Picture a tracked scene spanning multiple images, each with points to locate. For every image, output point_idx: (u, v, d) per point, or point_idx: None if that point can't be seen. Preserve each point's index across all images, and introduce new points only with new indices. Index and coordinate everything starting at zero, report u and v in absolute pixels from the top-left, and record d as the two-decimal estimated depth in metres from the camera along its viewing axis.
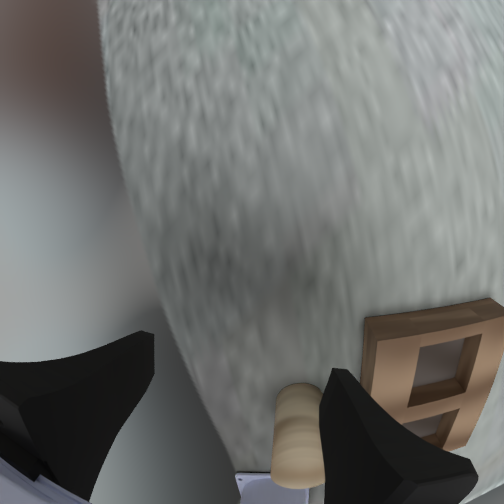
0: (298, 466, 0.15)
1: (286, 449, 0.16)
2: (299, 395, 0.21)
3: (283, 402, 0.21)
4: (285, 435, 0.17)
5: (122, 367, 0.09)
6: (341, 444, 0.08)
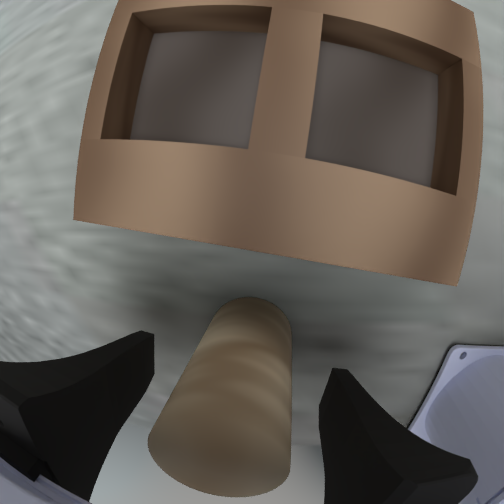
0: (176, 457, 0.07)
1: None
2: None
3: None
4: None
5: (122, 367, 0.09)
6: (341, 444, 0.08)
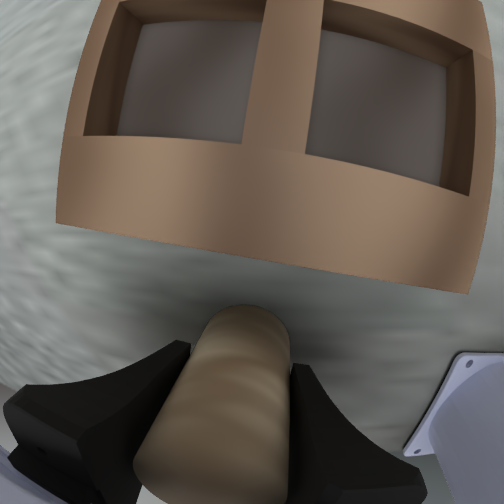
0: (164, 482, 0.06)
1: None
2: None
3: None
4: None
5: (164, 380, 0.08)
6: (293, 441, 0.08)
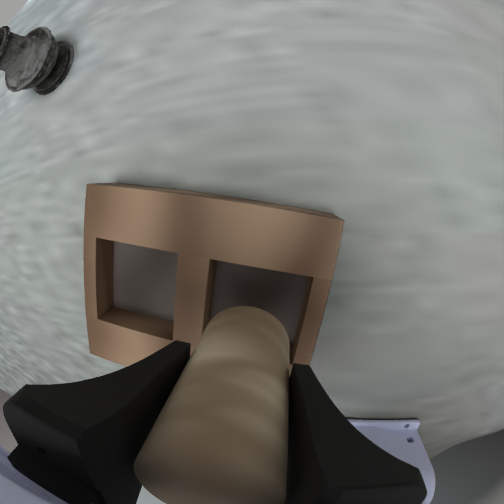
0: (164, 483, 0.06)
1: None
2: None
3: None
4: None
5: (164, 380, 0.08)
6: (293, 441, 0.08)
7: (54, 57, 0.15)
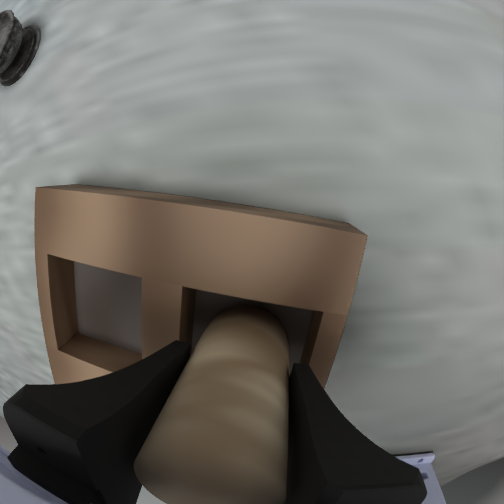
0: (164, 483, 0.06)
1: None
2: None
3: None
4: None
5: (164, 380, 0.08)
6: (293, 441, 0.08)
7: (16, 42, 0.11)
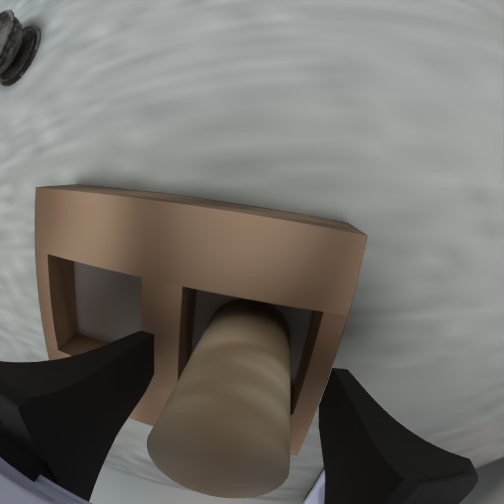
0: (175, 458, 0.07)
1: None
2: None
3: None
4: None
5: (122, 367, 0.09)
6: (341, 444, 0.08)
7: (16, 42, 0.11)
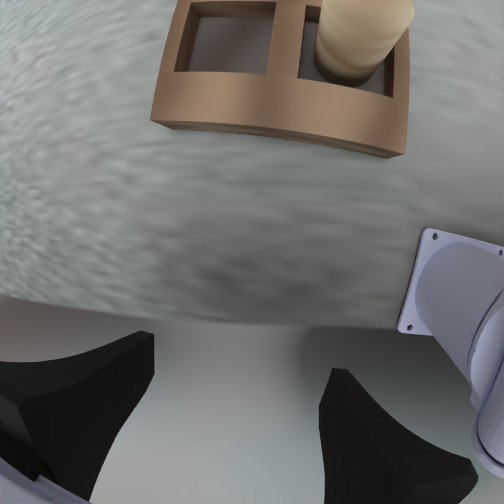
0: None
1: (326, 12, 0.09)
2: (315, 45, 0.14)
3: (321, 61, 0.14)
4: (324, 27, 0.11)
5: (122, 367, 0.09)
6: (341, 444, 0.08)
7: None
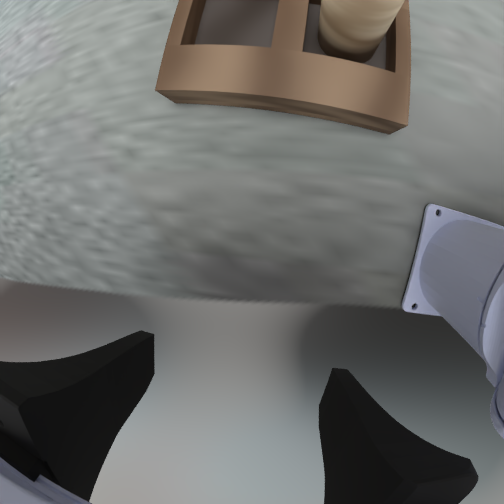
0: None
1: None
2: None
3: (324, 37, 0.14)
4: (325, 1, 0.10)
5: (122, 367, 0.09)
6: (341, 444, 0.08)
7: None
